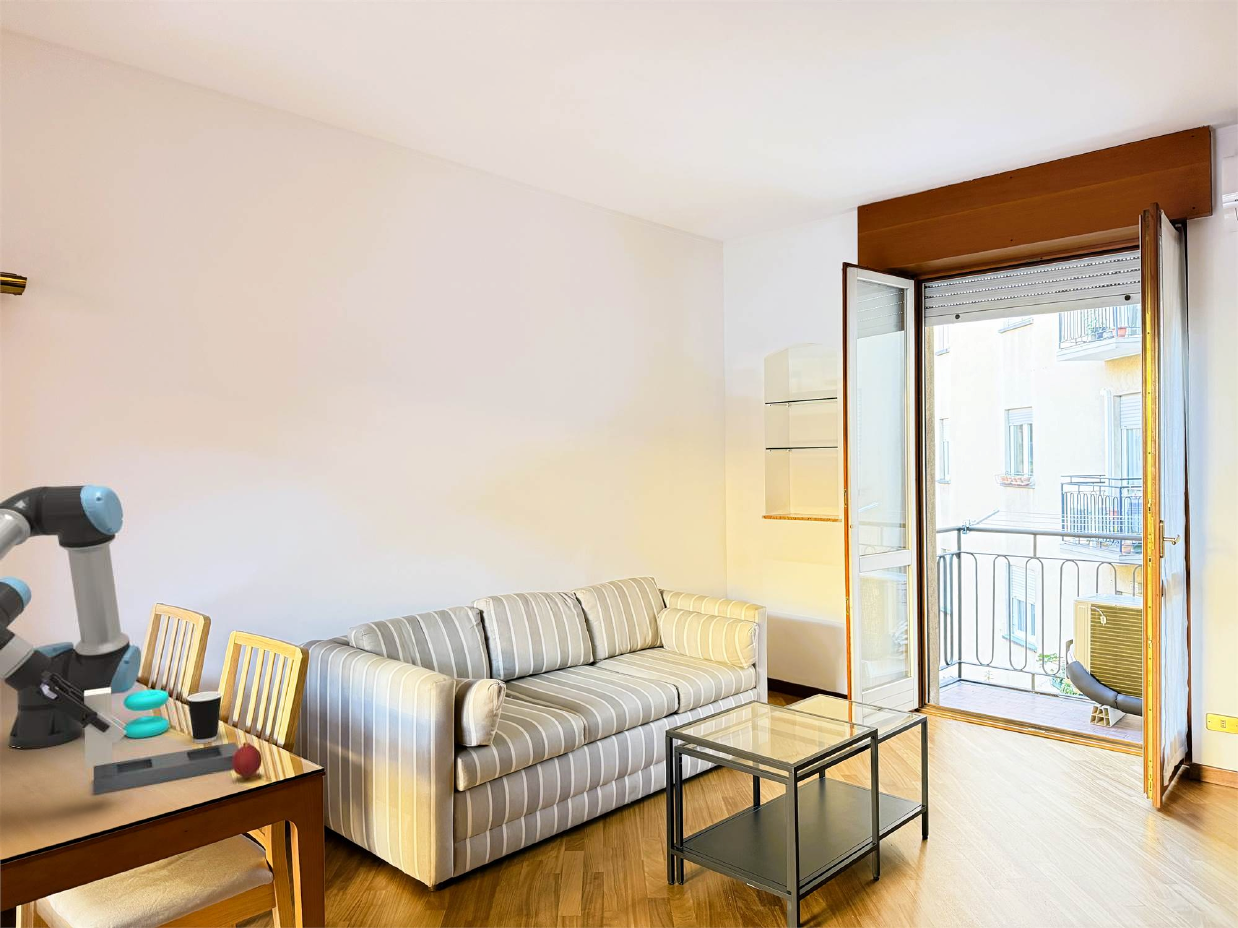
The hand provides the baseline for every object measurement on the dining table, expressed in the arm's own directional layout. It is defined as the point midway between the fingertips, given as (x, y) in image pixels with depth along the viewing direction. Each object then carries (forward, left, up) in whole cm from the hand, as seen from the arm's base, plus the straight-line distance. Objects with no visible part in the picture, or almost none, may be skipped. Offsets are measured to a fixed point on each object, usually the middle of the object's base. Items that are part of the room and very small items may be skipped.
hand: (120, 734), depth 170 cm
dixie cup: (+4, +38, -14) cm, 40 cm away
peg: (-3, -1, -5) cm, 6 cm away
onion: (+22, +9, -14) cm, 27 cm away
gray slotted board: (+4, +15, -14) cm, 20 cm away
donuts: (-13, +47, -14) cm, 51 cm away
